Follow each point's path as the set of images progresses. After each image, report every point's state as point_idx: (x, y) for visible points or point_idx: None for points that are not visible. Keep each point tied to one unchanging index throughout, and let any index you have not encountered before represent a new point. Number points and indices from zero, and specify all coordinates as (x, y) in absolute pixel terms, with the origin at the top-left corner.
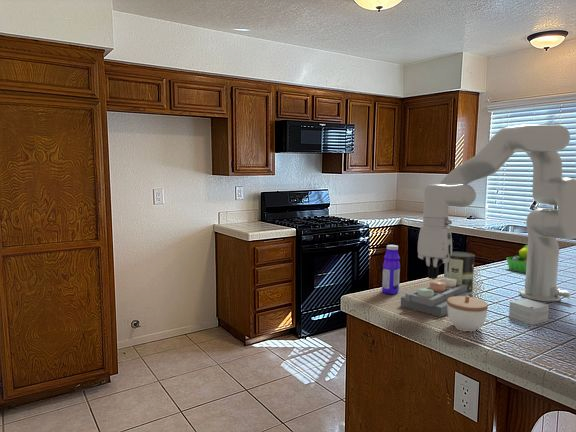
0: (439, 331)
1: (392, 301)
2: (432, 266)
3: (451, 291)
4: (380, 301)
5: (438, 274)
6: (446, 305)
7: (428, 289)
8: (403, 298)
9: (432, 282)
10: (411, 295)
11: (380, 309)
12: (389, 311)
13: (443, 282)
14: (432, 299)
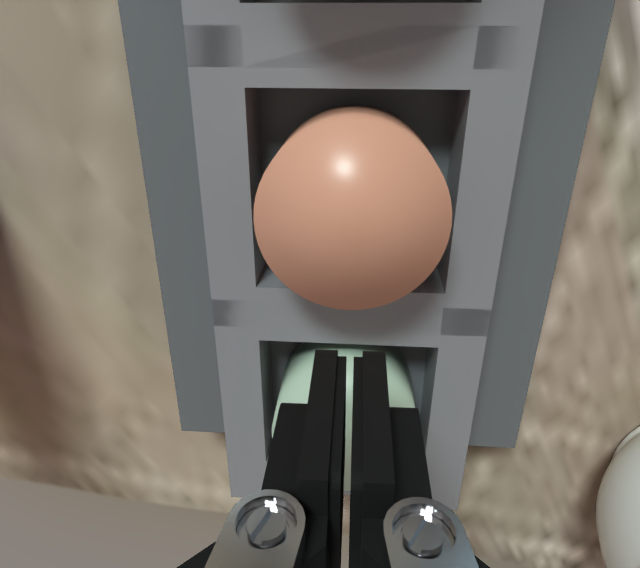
0: (561, 565)
1: (101, 342)
2: (332, 549)
3: (510, 158)
4: (59, 392)
5: (418, 413)
6: (528, 377)
7: (346, 393)
8: (205, 428)
9: (293, 247)
10: None
11: (169, 498)
12: (222, 494)
13: (397, 140)
14: (454, 491)
